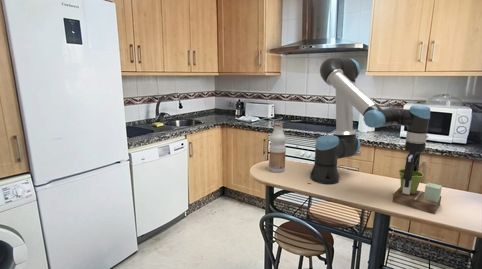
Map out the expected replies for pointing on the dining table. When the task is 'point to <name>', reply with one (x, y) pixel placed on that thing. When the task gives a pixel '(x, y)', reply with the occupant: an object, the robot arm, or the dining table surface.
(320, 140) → the robot arm
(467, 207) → the dining table surface
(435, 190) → the sage block
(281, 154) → the fruit juice
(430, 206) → the walnut board
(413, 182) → the plant pot
